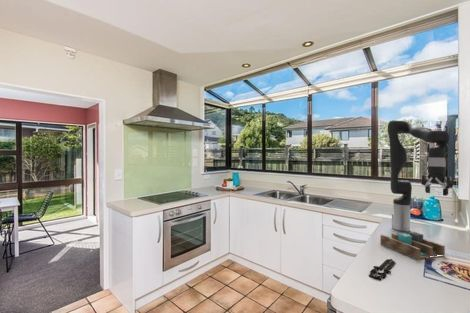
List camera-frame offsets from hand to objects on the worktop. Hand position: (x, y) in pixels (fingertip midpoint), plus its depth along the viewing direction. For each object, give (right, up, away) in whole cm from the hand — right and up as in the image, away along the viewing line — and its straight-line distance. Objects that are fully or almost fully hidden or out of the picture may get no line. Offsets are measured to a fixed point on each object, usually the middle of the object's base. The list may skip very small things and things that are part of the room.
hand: (436, 194), depth 126 cm
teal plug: (-26, -27, -10) cm, 38 cm away
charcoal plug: (-18, -27, -8) cm, 33 cm away
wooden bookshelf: (-22, -28, -9) cm, 36 cm away
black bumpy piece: (-50, -28, -29) cm, 64 cm away
